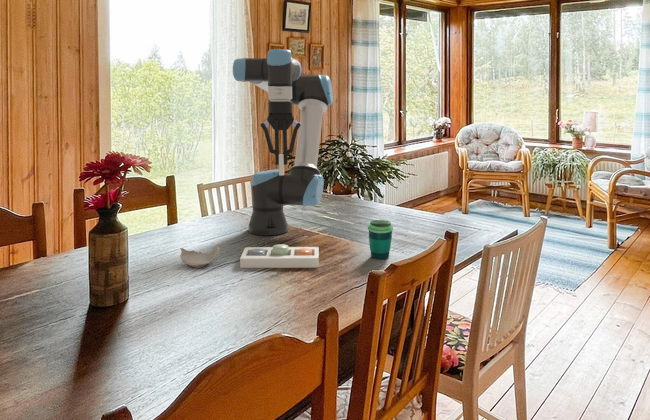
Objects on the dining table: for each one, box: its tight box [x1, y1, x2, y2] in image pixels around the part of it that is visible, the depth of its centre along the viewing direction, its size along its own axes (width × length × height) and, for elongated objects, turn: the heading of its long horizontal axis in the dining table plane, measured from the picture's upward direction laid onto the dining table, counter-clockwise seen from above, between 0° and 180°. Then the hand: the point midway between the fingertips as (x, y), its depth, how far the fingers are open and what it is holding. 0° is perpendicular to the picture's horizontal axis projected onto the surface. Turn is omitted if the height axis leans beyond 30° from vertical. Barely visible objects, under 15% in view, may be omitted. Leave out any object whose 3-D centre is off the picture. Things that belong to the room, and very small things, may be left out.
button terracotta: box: [296, 249, 312, 256], centre depth 175 cm, size 5×5×3 cm
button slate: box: [249, 249, 265, 256], centre depth 175 cm, size 5×5×3 cm
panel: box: [239, 246, 320, 269], centre depth 175 cm, size 24×12×3 cm, turn 90°
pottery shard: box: [179, 246, 221, 269], centre depth 173 cm, size 10×11×5 cm
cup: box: [367, 219, 394, 261], centre depth 177 cm, size 8×8×12 cm
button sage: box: [272, 243, 289, 256], centre depth 174 cm, size 5×5×3 cm
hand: (281, 174), depth 179 cm, fingers closed
